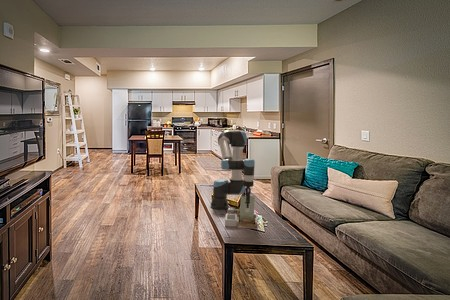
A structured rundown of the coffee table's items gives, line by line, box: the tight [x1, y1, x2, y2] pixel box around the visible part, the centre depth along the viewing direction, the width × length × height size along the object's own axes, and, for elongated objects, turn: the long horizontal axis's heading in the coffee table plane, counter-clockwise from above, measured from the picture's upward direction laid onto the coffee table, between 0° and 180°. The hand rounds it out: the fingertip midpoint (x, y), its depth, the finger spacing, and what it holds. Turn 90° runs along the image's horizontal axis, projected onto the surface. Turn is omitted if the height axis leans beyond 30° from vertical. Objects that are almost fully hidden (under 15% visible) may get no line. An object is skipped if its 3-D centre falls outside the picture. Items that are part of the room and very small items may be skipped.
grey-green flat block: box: [239, 195, 256, 223], centre depth 242 cm, size 3×10×20 cm, turn 88°
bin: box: [224, 213, 237, 228], centre depth 241 cm, size 14×8×5 cm, turn 177°
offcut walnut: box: [239, 220, 253, 224], centre depth 237 cm, size 4×9×2 cm, turn 94°
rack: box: [236, 212, 258, 229], centre depth 240 cm, size 14×14×6 cm
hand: (247, 209), depth 242 cm, fingers open, 13 cm apart
